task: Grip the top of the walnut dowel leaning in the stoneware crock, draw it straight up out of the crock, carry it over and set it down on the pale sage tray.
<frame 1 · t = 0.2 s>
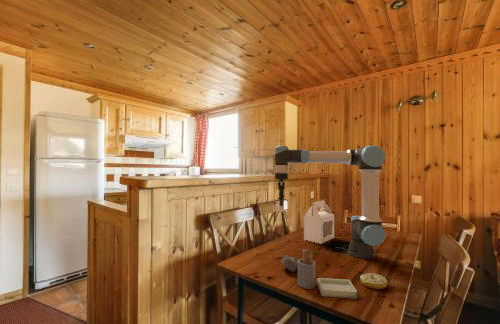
hand: (281, 209, 141), 28 cm above the table, fingers open, 13 cm apart
sage tray: (336, 290, 103), on the table
decorated donut: (373, 285, 109), on the table
fossil: (290, 271, 123), on the table
stoneware crock: (306, 284, 109), on the table
gable box: (319, 239, 180), on the table
walnut dowel: (305, 285, 109), resting on stoneware crock, tilted 5°
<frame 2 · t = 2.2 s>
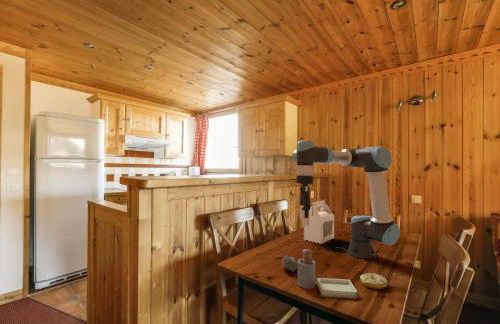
hand: (304, 222, 110), 27 cm above the table, fingers open, 13 cm apart
nothing on the table moved.
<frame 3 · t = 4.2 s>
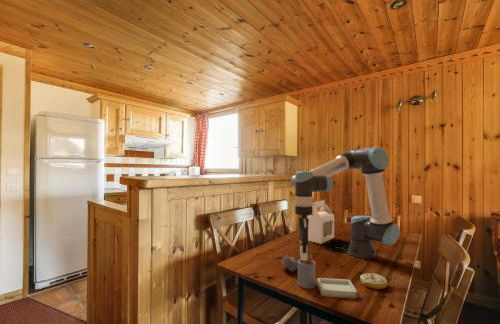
hand: (303, 257, 109), 12 cm above the table, fingers closed on walnut dowel, 4 cm apart
walnut dowel: (305, 285, 109), resting on stoneware crock, tilted 6°, touching gripper
everything else where it was.
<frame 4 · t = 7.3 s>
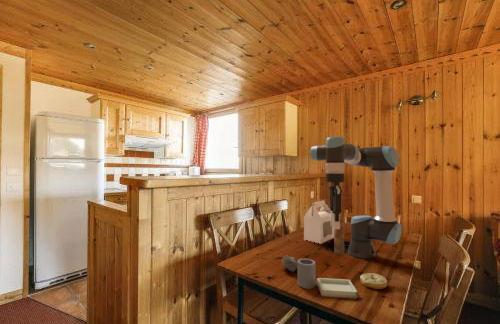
hand: (335, 227, 104), 27 cm above the table, fingers closed on walnut dowel, 4 cm apart
walnut dowel: (337, 255, 104), point 15 cm above the table, tilted 6°, touching gripper
everything else where it was.
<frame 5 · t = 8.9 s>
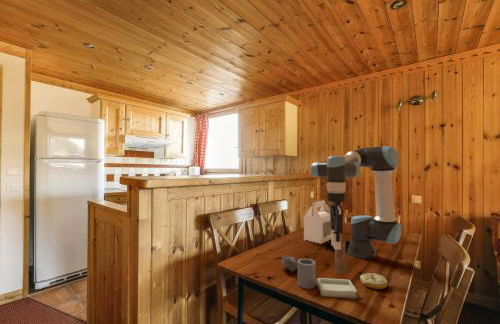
hand: (336, 247, 104), 18 cm above the table, fingers closed on walnut dowel, 4 cm apart
walnut dowel: (337, 275, 103), point 6 cm above the table, tilted 6°, touching gripper
everything else where it was.
when the fingers open (13 cm above the table, at t = 10.2 s): walnut dowel stays where it is, resting on sage tray.
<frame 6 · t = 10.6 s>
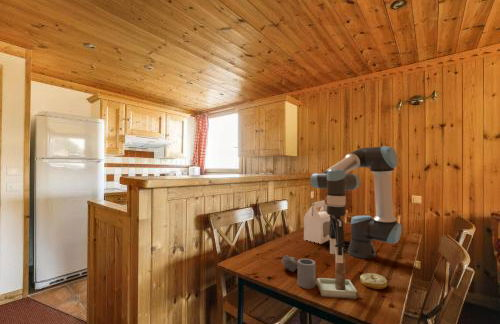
hand: (336, 257, 104), 14 cm above the table, fingers open, 10 cm apart
walnut dowel: (338, 291, 103), resting on sage tray, tilted 6°
everything else where it was.
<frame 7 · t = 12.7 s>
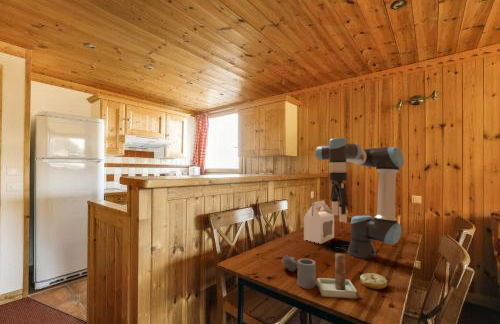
hand: (338, 218, 112), 29 cm above the table, fingers open, 13 cm apart
nothing on the table moved.
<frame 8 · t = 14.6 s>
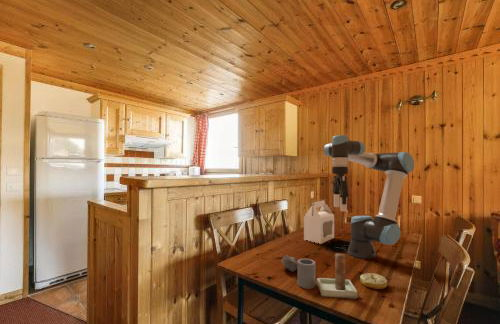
hand: (339, 208, 121), 32 cm above the table, fingers open, 13 cm apart
nothing on the table moved.
at the end: walnut dowel inside the target area on the sage tray (0.8 cm from its centre), point 0.0 cm above the sage tray's base; walnut dowel moved 13.6 cm from its start; the gripper is holding nothing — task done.
